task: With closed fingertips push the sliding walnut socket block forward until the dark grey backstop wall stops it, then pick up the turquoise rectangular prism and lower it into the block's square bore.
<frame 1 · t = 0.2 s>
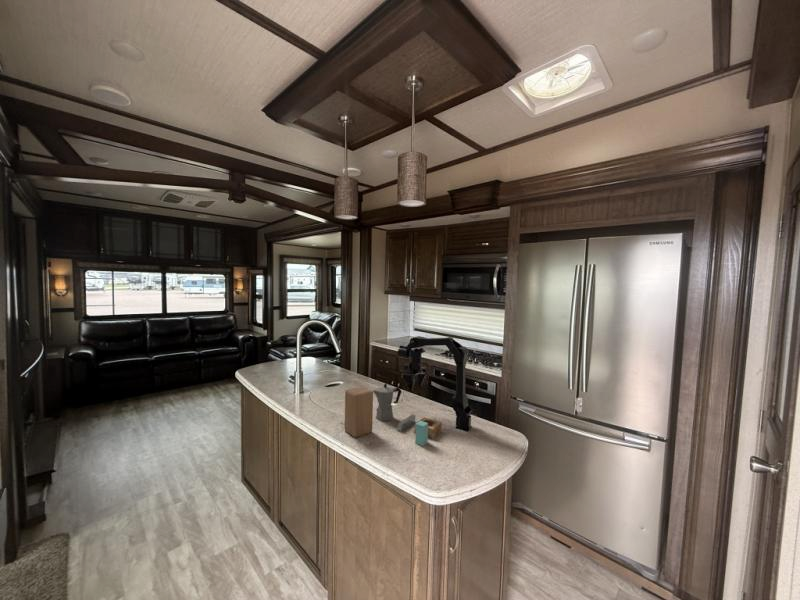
hand: (415, 388, 171), 14 cm above the worktop, fingers open, 9 cm apart
backstop wall: (406, 426, 157), on the worktop
socket block: (428, 427, 151), point 2 cm above the worktop, slide at 0.0 cm
coffeepot: (386, 418, 167), on the worktop
turquoise rectangular prism: (421, 443, 141), on the worktop
block: (358, 432, 150), on the worktop
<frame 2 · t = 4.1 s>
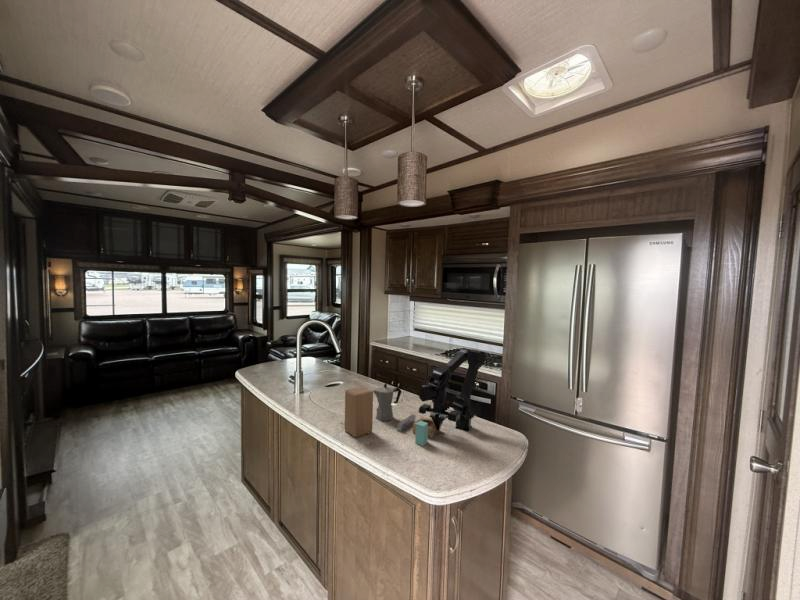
hand: (438, 430, 148), 3 cm above the worktop, fingers closed
socket block: (426, 427, 152), point 2 cm above the worktop, slide at 0.9 cm, touching gripper
everything else where it was.
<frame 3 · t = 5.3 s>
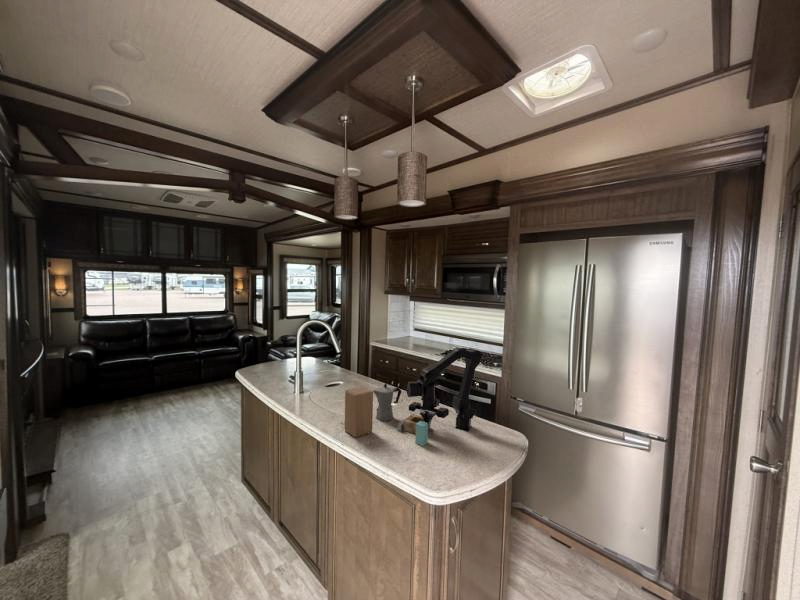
hand: (428, 427, 151), 3 cm above the worktop, fingers closed
socket block: (417, 424, 154), point 2 cm above the worktop, slide at 6.0 cm, touching backstop wall, gripper
everything else where it was.
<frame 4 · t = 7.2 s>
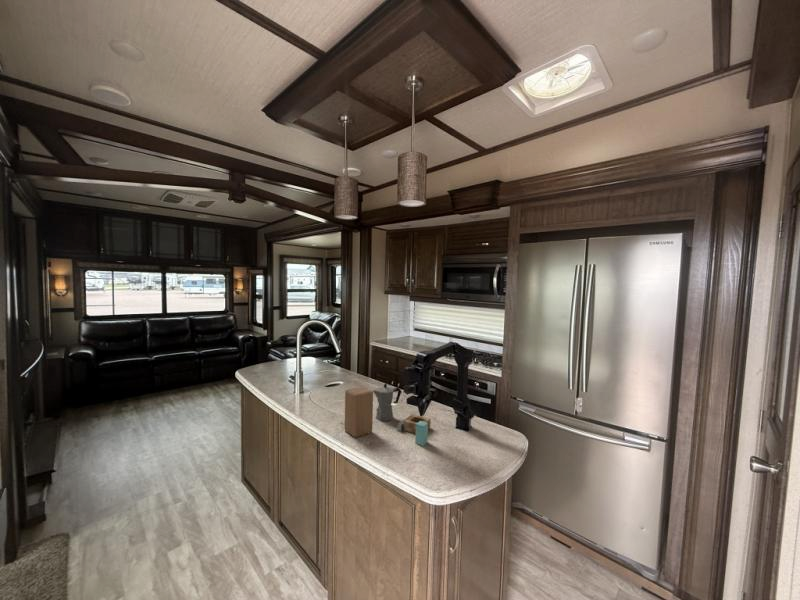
hand: (422, 415, 140), 12 cm above the worktop, fingers closed
socket block: (417, 424, 154), point 2 cm above the worktop, slide at 6.0 cm
everything else where it was.
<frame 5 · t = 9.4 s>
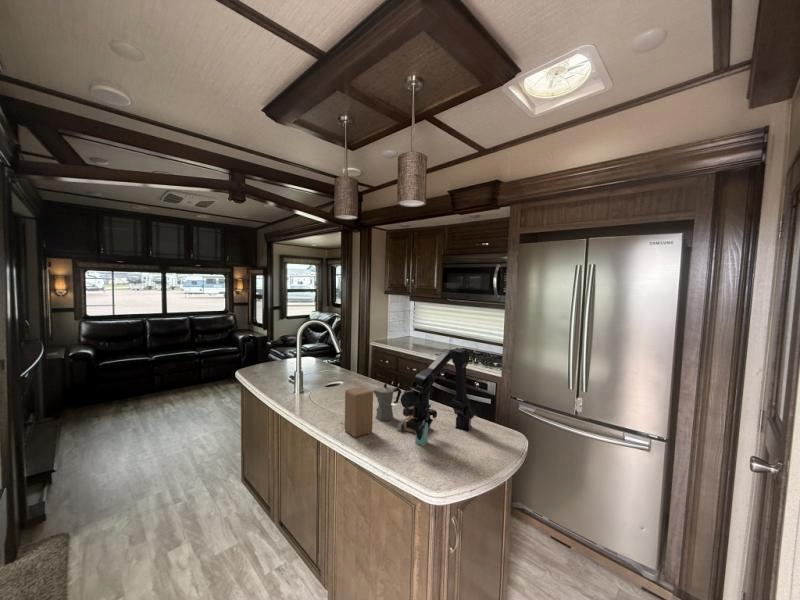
hand: (421, 437, 141), 3 cm above the worktop, fingers closed on turquoise rectangular prism, 4 cm apart
turquoise rectangular prism: (421, 443, 141), on the worktop, touching gripper
everything else where it was.
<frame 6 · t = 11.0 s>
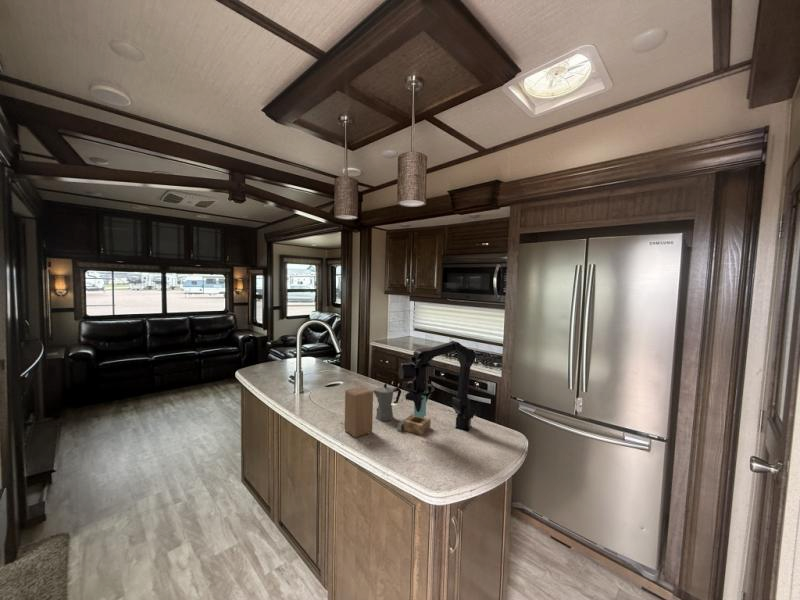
hand: (420, 410, 147), 12 cm above the worktop, fingers closed on turquoise rectangular prism, 4 cm apart
turquoise rectangular prism: (420, 415, 147), point 10 cm above the worktop, touching gripper
everything else where it was.
when the fingers open (6 cm above the worktop, at t = 12.9 s): turquoise rectangular prism drops 3 cm, resting in socket block.
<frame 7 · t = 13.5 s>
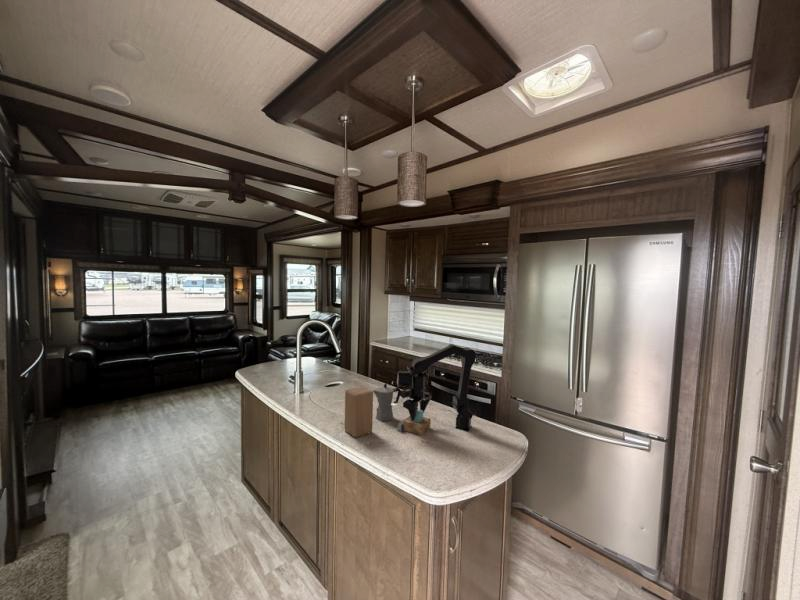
hand: (417, 417, 154), 6 cm above the worktop, fingers open, 9 cm apart
turquoise rectangular prism: (417, 429, 154), resting in socket block
everything else where it was.
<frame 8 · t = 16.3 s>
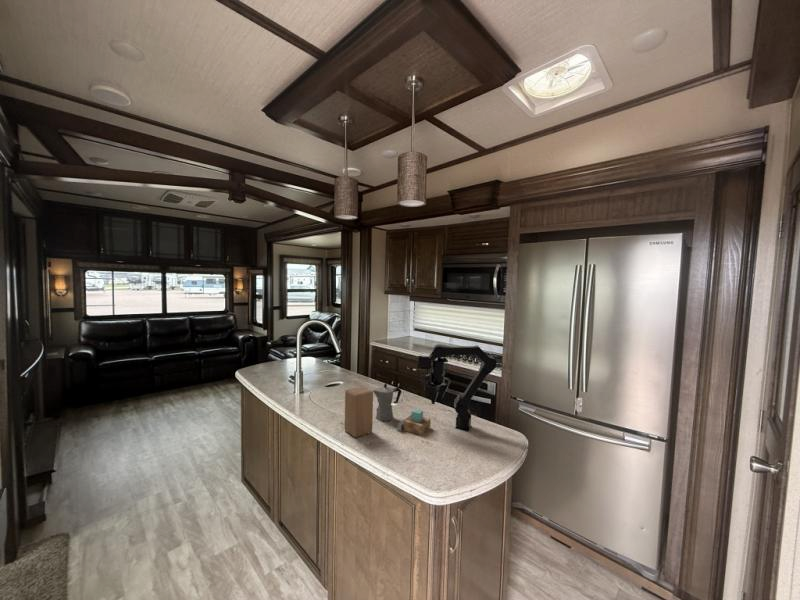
hand: (437, 401, 158), 13 cm above the worktop, fingers open, 9 cm apart
nothing on the worktop moved.
at the end: socket block slide at 6.0 cm; turquoise rectangular prism 0.1 cm off-centre on the socket block, point 0.0 cm above the socket block's base; turquoise rectangular prism tilted 0° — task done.
